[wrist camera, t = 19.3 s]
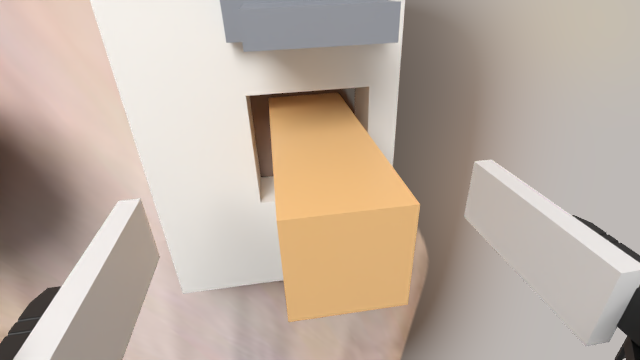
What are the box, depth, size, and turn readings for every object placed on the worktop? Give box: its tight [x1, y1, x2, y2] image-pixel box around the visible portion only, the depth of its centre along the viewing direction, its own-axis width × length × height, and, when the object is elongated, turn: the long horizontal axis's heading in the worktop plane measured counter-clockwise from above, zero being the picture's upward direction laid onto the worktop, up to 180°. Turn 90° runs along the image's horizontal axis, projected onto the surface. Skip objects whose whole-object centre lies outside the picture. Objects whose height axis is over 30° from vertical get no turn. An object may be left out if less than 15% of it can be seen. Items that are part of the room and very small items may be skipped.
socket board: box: [90, 0, 405, 294], centre depth 19 cm, size 18×13×3 cm
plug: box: [268, 93, 420, 322], centre depth 16 cm, size 4×4×12 cm
